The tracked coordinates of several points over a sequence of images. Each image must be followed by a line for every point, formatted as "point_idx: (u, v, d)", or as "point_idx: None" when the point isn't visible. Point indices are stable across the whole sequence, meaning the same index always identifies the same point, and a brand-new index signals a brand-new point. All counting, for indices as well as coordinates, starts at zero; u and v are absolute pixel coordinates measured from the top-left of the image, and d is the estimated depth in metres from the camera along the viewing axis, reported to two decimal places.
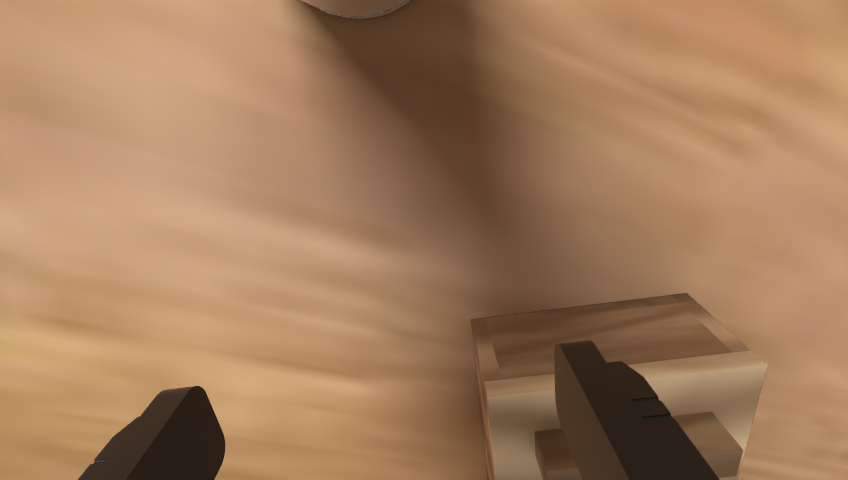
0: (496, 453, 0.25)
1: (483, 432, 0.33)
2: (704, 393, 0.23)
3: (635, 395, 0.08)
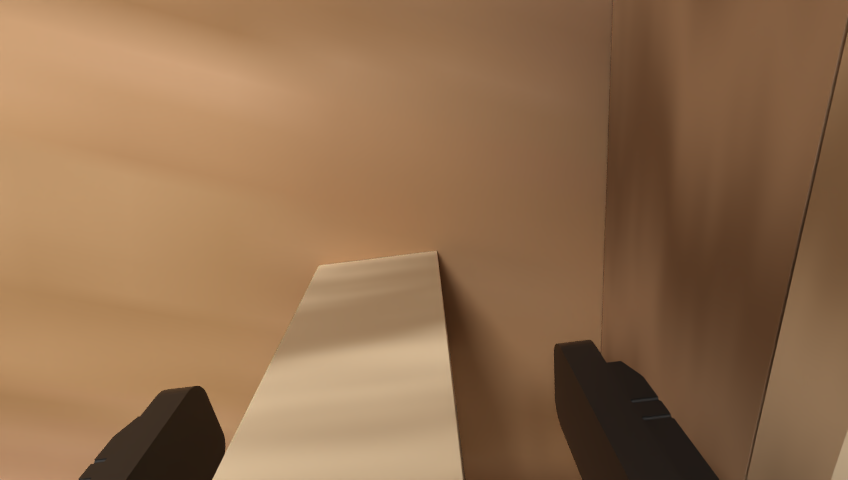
0: None
1: (617, 239, 0.11)
2: None
3: (635, 395, 0.08)
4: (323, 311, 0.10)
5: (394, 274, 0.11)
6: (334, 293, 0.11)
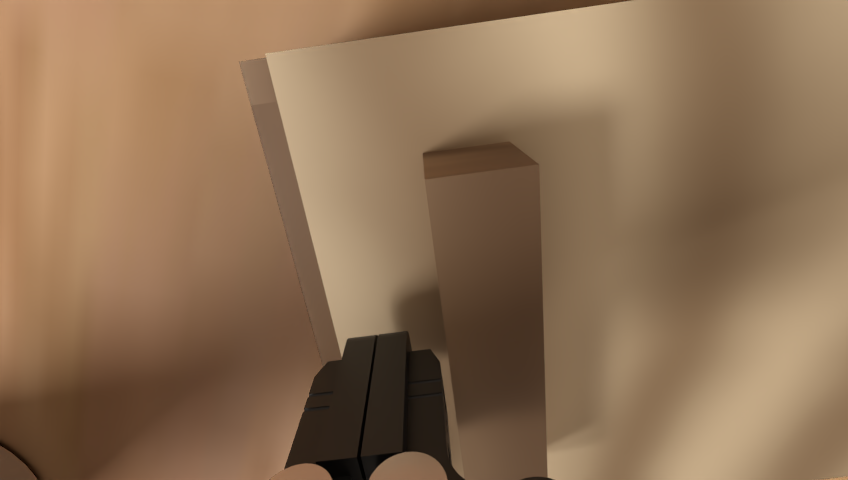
0: None
1: None
2: (365, 187, 0.10)
3: (423, 377, 0.09)
4: None
5: None
6: None
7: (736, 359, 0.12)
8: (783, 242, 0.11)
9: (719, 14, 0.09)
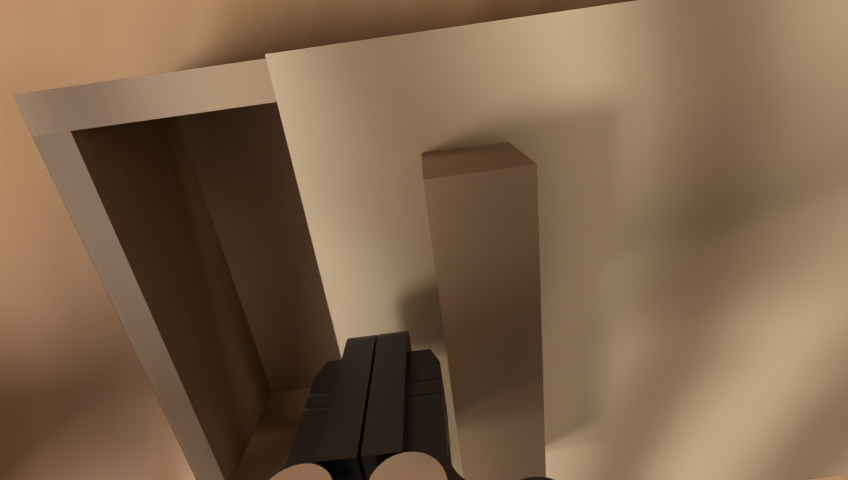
0: None
1: None
2: (364, 187, 0.10)
3: (423, 377, 0.09)
4: None
5: None
6: None
7: (734, 358, 0.12)
8: (780, 241, 0.11)
9: (716, 15, 0.09)
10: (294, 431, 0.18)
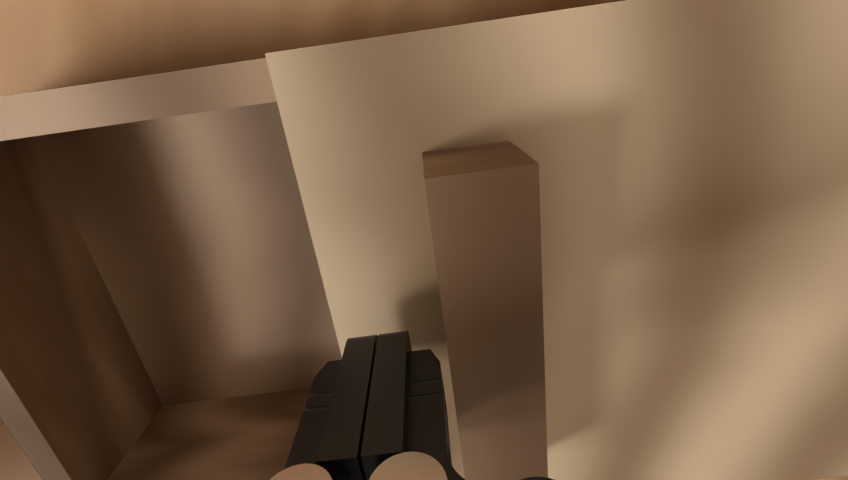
0: None
1: None
2: (365, 187, 0.10)
3: (423, 377, 0.09)
4: None
5: None
6: None
7: (736, 358, 0.12)
8: (783, 240, 0.11)
9: (718, 13, 0.09)
10: (170, 446, 0.18)
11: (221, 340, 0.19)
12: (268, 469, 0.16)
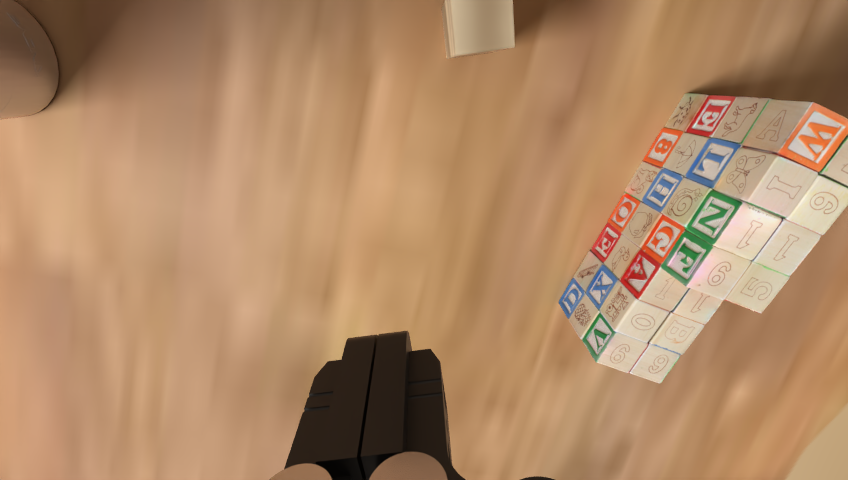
0: None
1: None
2: None
3: (423, 377, 0.09)
4: (447, 47, 0.30)
5: (444, 24, 0.31)
6: (447, 46, 0.31)
7: None
8: None
9: None
10: None
11: None
12: None
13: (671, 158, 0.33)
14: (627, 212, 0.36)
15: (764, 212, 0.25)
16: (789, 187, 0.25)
